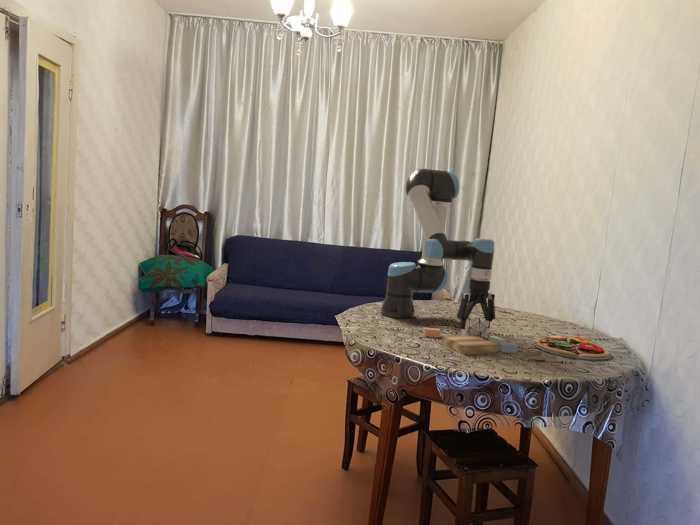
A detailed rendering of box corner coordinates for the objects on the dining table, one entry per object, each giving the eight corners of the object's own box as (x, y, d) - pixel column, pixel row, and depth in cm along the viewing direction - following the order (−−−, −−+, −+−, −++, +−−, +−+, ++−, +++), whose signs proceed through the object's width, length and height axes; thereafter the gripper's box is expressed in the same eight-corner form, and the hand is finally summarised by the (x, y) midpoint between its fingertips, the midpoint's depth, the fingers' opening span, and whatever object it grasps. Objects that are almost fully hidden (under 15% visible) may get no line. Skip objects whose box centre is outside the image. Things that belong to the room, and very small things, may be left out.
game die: (477, 349, 219) (488, 332, 213) (456, 338, 220) (467, 322, 214) (482, 334, 226) (493, 318, 219) (462, 324, 227) (472, 307, 221)
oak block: (441, 343, 207) (442, 335, 207) (472, 342, 213) (473, 334, 213) (464, 354, 194) (465, 346, 194) (497, 353, 200) (498, 344, 200)
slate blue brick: (502, 353, 202) (502, 344, 202) (497, 350, 205) (498, 342, 205) (516, 352, 204) (517, 344, 204) (511, 350, 207) (512, 342, 207)
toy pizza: (621, 366, 199) (622, 353, 199) (538, 355, 204) (539, 343, 203) (600, 347, 226) (602, 336, 226) (528, 338, 231) (529, 328, 231)
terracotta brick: (424, 336, 217) (425, 329, 216) (423, 335, 220) (423, 327, 219) (439, 338, 217) (440, 330, 216) (438, 336, 220) (439, 328, 219)
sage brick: (487, 343, 214) (488, 336, 214) (493, 343, 216) (494, 335, 216) (500, 348, 209) (500, 340, 209) (505, 347, 211) (506, 339, 211)
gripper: (462, 280, 210) (456, 340, 212) (509, 281, 219) (502, 339, 222) (450, 277, 217) (444, 335, 219) (496, 278, 226) (490, 334, 228)
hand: (473, 337), depth 220 cm, fingers open, 9 cm apart
